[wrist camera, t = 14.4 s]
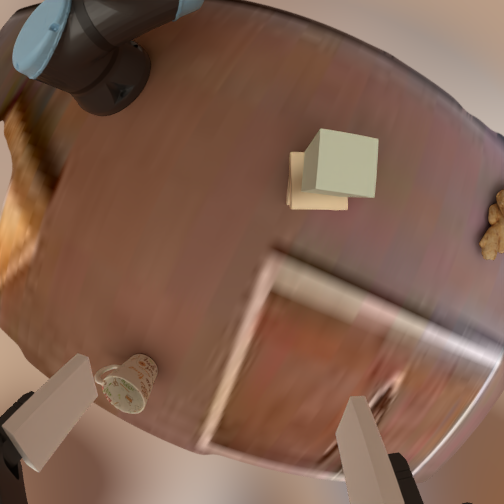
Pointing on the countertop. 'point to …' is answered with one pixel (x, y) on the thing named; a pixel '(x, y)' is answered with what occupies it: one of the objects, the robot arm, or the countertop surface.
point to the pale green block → (340, 165)
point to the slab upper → (304, 198)
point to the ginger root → (494, 230)
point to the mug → (129, 383)
